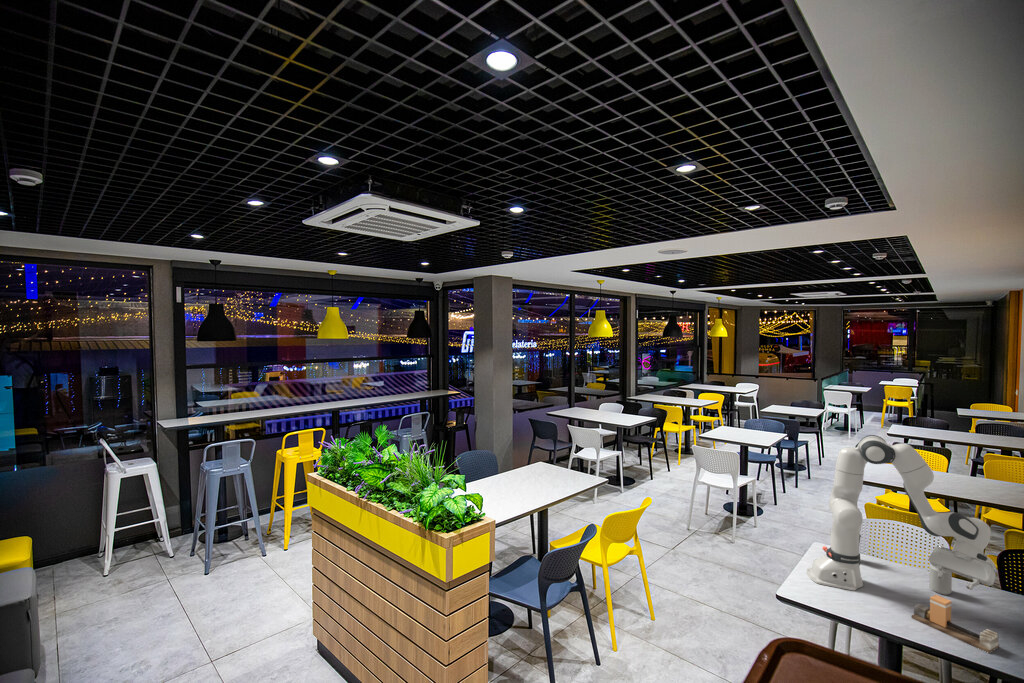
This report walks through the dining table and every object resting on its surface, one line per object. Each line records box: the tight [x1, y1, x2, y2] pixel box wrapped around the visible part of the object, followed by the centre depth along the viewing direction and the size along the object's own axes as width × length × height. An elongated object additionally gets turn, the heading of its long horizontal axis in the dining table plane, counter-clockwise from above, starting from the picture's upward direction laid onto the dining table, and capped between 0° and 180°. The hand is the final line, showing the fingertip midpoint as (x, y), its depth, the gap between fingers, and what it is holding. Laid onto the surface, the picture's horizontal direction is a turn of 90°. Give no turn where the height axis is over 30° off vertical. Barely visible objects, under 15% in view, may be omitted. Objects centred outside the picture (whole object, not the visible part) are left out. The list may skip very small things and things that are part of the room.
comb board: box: [910, 603, 1000, 654], centre depth 186 cm, size 24×8×6 cm, turn 25°
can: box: [928, 564, 953, 596], centre depth 215 cm, size 8×8×12 cm
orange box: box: [929, 594, 952, 628], centre depth 189 cm, size 5×4×10 cm
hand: (954, 582), depth 194 cm, fingers open, 8 cm apart
